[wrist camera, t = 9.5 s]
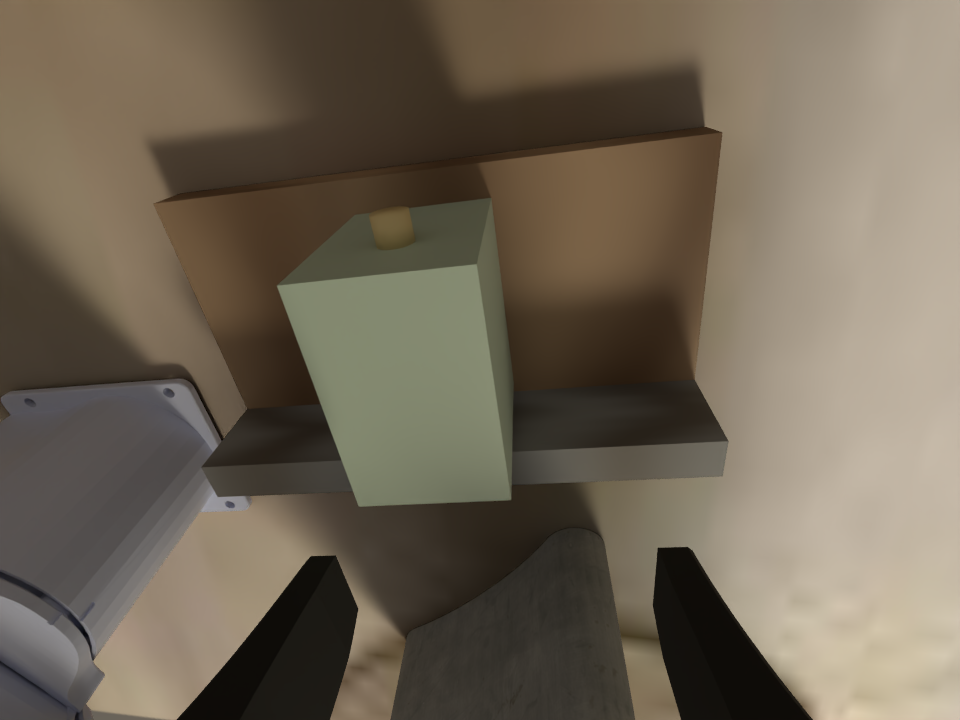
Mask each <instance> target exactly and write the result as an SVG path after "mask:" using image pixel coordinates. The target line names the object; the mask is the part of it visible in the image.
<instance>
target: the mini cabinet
mask: <svg viewBox="0 0 960 720" xmlns="http://www.w3.org/2000/svg"><path fill="white" fill-rule="evenodd" d="M277 287H278V290H279V293H280V296H281V298H282V301H283V304H284V306H285V309H286V312H287V314H288V317H289V320H290V323H291V325H292V328H293V331H294V333H295V336H296V339H297V341H298V344H299V347H300V349H301V352H302V355H303V358H304V360H305V363H306V366H307V368H308V371H309V374H310V376H311V379H312V382H313V384H314V387H315V390H316V393H317V395H318V398H319V401H320V403H321V406H322V409H323V411H324V414H325V417H326V420H327V422H328V425H329V428H330V430H331V433H332V436H333V438H334V441H335V444H336V446H337V449H338V452H339V455H340V457H341V460H342V463H343V465H344V468H345V471H346V473H347V476H348V479H349V481H350V484H351V487H352V490H353V492H354V495H355V498H356V500H357V503H358V506H359V507H364V506H387V505H410V504H433V503H456V502H479V501H502V500H511V486H512V439H513V392H514V381H513V372H512V364H511V356H510V348H509V340H508V331H507V323H506V315H505V307H504V299H503V290H502V282H501V274H500V266H499V257H498V249H497V241H496V233H495V225H494V216H493V208H492V200H491V198H486V199H478V200H470V201H462V202H454V203H446V204H438V205H430V206H422V207H414V208H408V207H405V206H397V207H389V208H384V209H380V210H377V211H374V212H372V213H366V214H358V215H354V216H353V217H352V218H351V219H350V220H349V221H347V222H346V223H345V224H344V225H343V226H342V227H341V228H340V229H339V230H338V231H336V232H335V233H334V234H333V235H332V236H331V237H330V238H329V239H328V240H327V241H325V242H324V243H323V244H322V245H321V246H320V247H319V248H318V249H317V250H316V251H314V252H313V253H312V254H311V255H310V256H309V257H308V258H307V259H306V260H305V261H303V262H302V263H301V264H300V265H299V266H298V267H297V268H296V269H295V270H294V271H292V272H291V273H290V274H289V275H288V276H287V277H286V278H285V279H284V280H282V281H281V282H280V283H279V284H278V285H277Z"/></svg>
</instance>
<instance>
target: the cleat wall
mask: <svg viewBox="0 0 960 720" xmlns="http://www.w3.org/2000/svg"><path fill="white" fill-rule="evenodd" d="M721 140H722V132H719V131H716V130H714V129H711V128H708V127H700V128H692V129H684V130H676V131H668V132H661V133H653V134H645V135H637V136H629V137H621V138H613V139H606V140H598V141H590V142H582V143H574V144H566V145H558V146H551V147H543V148H535V149H527V150H519V151H511V152H503V153H496V154H488V155H480V156H472V157H464V158H456V159H448V160H441V161H433V162H425V163H417V164H409V165H401V166H394V167H386V168H378V169H370V170H362V171H354V172H346V173H339V174H331V175H323V176H315V177H307V178H299V179H291V180H284V181H276V182H268V183H260V184H252V185H244V186H236V187H229V188H221V189H213V190H205V191H197V192H189V193H181V194H178V195H175V196H173V197H170V198H168V199H165V200H162V201H160V202H157V203H154V206H155V208H156V210H157V212H158V215H159V217H160V219H161V221H162V223H163V226H164V228H165V230H166V232H167V234H168V237H169V239H170V241H171V243H172V245H173V247H174V250H175V252H176V254H177V256H178V258H179V261H180V263H181V265H182V267H183V269H184V271H185V274H186V276H187V278H188V280H189V282H190V285H191V287H192V289H193V291H194V293H195V295H196V298H197V300H198V302H199V304H200V306H201V309H202V311H203V313H204V315H205V317H206V320H207V322H208V324H209V326H210V328H211V330H212V333H213V335H214V337H215V339H216V341H217V344H218V346H219V348H220V350H221V352H222V354H223V357H224V359H225V361H226V363H227V365H228V368H229V370H230V372H231V374H232V376H233V379H234V381H235V383H236V385H237V387H238V389H239V392H240V394H241V396H242V398H243V400H244V403H245V405H246V407H247V410H246V411H245V413H244V414H243V415H242V416H241V418H240V419H239V420H238V421H237V423H236V424H235V425H234V426H233V428H232V429H231V430H230V432H229V433H228V434H227V435H226V437H225V438H224V439H223V440H222V442H221V443H220V444H219V445H218V447H217V448H216V449H215V450H214V452H213V453H212V454H211V456H210V457H209V458H208V459H207V461H206V462H205V463H204V464H203V466H202V467H201V468H202V470H203V472H204V474H205V475H206V477H207V479H208V481H209V483H210V484H211V486H212V488H213V490H214V492H215V493H216V495H217V497H234V496H258V495H282V494H307V493H331V492H353V490H352V487H351V484H350V481H349V479H348V476H347V473H346V471H345V468H344V465H343V463H342V460H341V457H340V455H339V452H338V449H337V446H336V444H335V441H334V438H333V436H332V433H331V430H330V428H329V425H328V422H327V420H326V417H325V414H324V411H323V409H322V406H321V403H320V401H319V398H318V395H317V393H316V390H315V387H314V384H313V382H312V379H311V376H310V374H309V371H308V368H307V366H306V363H305V360H304V358H303V355H302V352H301V349H300V347H299V344H298V341H297V339H296V336H295V333H294V331H293V328H292V325H291V323H290V320H289V317H288V314H287V312H286V309H285V306H284V304H283V301H282V298H281V296H280V293H279V290H278V287H277V285H278V284H279V283H280V282H281V281H282V280H284V279H285V278H286V277H287V276H288V275H289V274H290V273H291V272H292V271H294V270H295V269H296V268H297V267H298V266H299V265H300V264H301V263H302V262H303V261H305V260H306V259H307V258H308V257H309V256H310V255H311V254H312V253H313V252H314V251H316V250H317V249H318V248H319V247H320V246H321V245H322V244H323V243H324V242H325V241H327V240H328V239H329V238H330V237H331V236H332V235H333V234H334V233H335V232H336V231H338V230H339V229H340V228H341V227H342V226H343V225H344V224H345V223H346V222H347V221H349V220H350V219H351V218H352V217H353V216H354V215H358V214H366V213H372V212H374V211H377V210H380V209H384V208H389V207H397V206H405V207H408V208H414V207H422V206H430V205H438V204H446V203H454V202H462V201H470V200H478V199H486V198H491V200H492V208H493V216H494V225H495V233H496V241H497V249H498V257H499V266H500V274H501V282H502V290H503V299H504V307H505V315H506V323H507V331H508V340H509V348H510V356H511V364H512V372H513V381H514V392H513V439H512V485H525V484H549V483H573V482H598V481H622V480H646V479H670V478H695V477H719V476H723V471H724V465H725V459H726V453H727V447H728V439H727V438H726V436H725V434H724V432H723V430H722V429H721V427H720V425H719V423H718V421H717V420H716V418H715V416H714V414H713V412H712V410H711V409H710V407H709V405H708V403H707V401H706V400H705V398H704V396H703V394H702V392H701V391H700V389H699V387H698V385H697V383H696V382H695V371H696V362H697V353H698V344H699V335H700V326H701V318H702V309H703V300H704V291H705V282H706V273H707V264H708V255H709V246H710V238H711V229H712V220H713V211H714V202H715V193H716V184H717V175H718V167H719V158H720V149H721Z"/></svg>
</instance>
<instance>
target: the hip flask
mask: <svg viewBox="0 0 960 720" xmlns="http://www.w3.org/2000/svg"><path fill="white" fill-rule="evenodd" d="M391 720H635V716H634V710H633V704H632V699H631V693H630V687H629V681H628V676H627V670H626V664H625V659H624V653H623V647H622V641H621V636H620V630H619V624H618V619H617V613H616V607H615V602H614V596H613V590H612V584H611V579H610V573H609V567H608V562H607V556H606V550H605V544H604V542H603V540H602V539H601V537H600V536H598V535H597V534H596V533H594V532H592V531H590V530H587V529H582V528H567V529H563V530H560V531H557V532H555V533H554V534H552V535H551V536H550V537H549V538H548V539H547V540H546V541H545V542H544V543H543V544H542V545H541V546H540V547H539V548H538V549H537V550H536V551H535V552H534V553H533V554H532V555H531V556H530V557H529V558H528V559H527V560H525V561H524V562H523V563H522V564H521V565H520V566H518V567H517V568H516V569H515V570H514V571H512V572H511V573H510V574H509V575H507V576H506V577H505V578H503V579H502V580H501V581H499V582H498V583H497V584H495V585H494V586H492V587H491V588H489V589H488V590H486V591H485V592H483V593H482V594H480V595H479V596H477V597H476V598H474V599H473V600H471V601H469V602H468V603H466V604H465V605H463V606H461V607H459V608H458V609H456V610H454V611H452V612H450V613H448V614H446V615H444V616H442V617H440V618H438V619H436V620H434V621H432V622H430V623H427V624H425V625H422V626H420V627H418V628H415V629H413V630H411V631H410V632H409V633H408V635H407V639H406V644H405V649H404V654H403V659H402V664H401V669H400V675H399V680H398V685H397V690H396V695H395V700H394V705H393V710H392V715H391Z"/></svg>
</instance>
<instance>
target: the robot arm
mask: <svg viewBox="0 0 960 720" xmlns="http://www.w3.org/2000/svg"><path fill="white" fill-rule="evenodd" d="M170 389H171V390H172V391H173V392H172V391H171V390H170ZM1 402H2V404H3V406H4V407H5V408H6V410H7V411H8V412H9V414H10V416H8V417H7V418H6V419H4V420H3V421H1V422H0V720H94V719H93V716H92V712H91V710H90V709H89V707H88V706H87V705H86V703H87V702H88V700H89V699H90V697H91V696H92V694H93V693H94V691H95V690H96V688H97V687H98V685H99V684H100V682H101V681H102V680H103V678H104V677H105V674H104V673H103V672H102V671H101V670H100V669H99V668H98V667H97V666H96V665H95V664H94V662H93V660H94V659H95V658H96V656H97V655H98V653H99V652H100V651H101V649H102V648H103V646H104V645H105V644H106V642H107V641H108V639H109V638H110V637H111V635H112V634H113V632H114V631H115V630H116V628H117V627H118V625H119V624H120V623H121V621H122V620H123V618H124V617H125V616H126V614H127V613H128V611H129V610H130V609H131V607H132V606H133V605H134V603H135V602H136V600H137V599H138V598H139V596H140V595H141V593H142V592H143V591H144V589H145V588H146V586H147V585H148V584H149V582H150V581H151V579H152V578H153V577H154V575H155V574H156V572H157V571H158V570H159V568H160V567H161V565H162V564H163V563H164V561H165V560H166V558H167V557H168V556H169V554H170V553H171V551H172V550H173V549H174V547H175V546H176V544H177V543H178V542H179V540H180V539H181V538H182V536H183V535H184V533H185V532H186V531H187V529H188V528H189V526H190V525H191V524H192V522H193V521H194V519H195V518H196V517H197V515H198V514H199V512H217V511H243V510H247V509H248V508H249V506H250V505H251V503H252V500H251V497H250V496H234V497H217V495H216V493H215V492H214V490H213V488H212V486H211V484H210V483H209V481H208V479H207V477H206V475H205V474H204V472H203V470H202V468H201V467H202V466H203V464H204V463H205V462H206V461H207V459H208V458H209V457H210V456H211V454H212V453H213V452H214V450H215V449H216V448H217V447H218V445H219V444H220V443H221V442H222V441H221V439H220V437H219V435H218V433H217V431H216V429H215V427H214V425H213V423H212V421H211V419H210V417H209V415H208V413H207V412H206V410H205V408H204V406H203V404H202V402H201V400H200V398H199V396H198V394H197V392H196V390H195V388H194V386H193V385H192V384H191V383H190V382H189V381H187V380H185V379H166V380H152V381H139V382H126V383H112V384H99V385H86V386H72V387H59V388H46V389H33V390H19V391H10V392H8V393H6V394H4V395H3V396H2V397H1ZM653 609H654V614H655V619H656V625H657V630H658V635H659V640H660V645H661V650H662V655H663V659H664V663H665V666H666V669H667V673H668V676H669V680H670V683H671V687H672V690H673V693H674V697H675V700H676V703H677V707H678V710H679V714H680V717H681V720H813V719H812V718H811V717H810V716H809V715H808V713H807V712H806V711H805V710H804V708H803V707H802V706H801V705H800V703H799V702H798V701H797V700H796V698H795V697H794V696H793V695H792V693H791V692H790V691H789V690H788V688H787V687H786V686H785V685H784V683H783V682H782V681H781V679H780V678H779V677H778V675H777V674H776V673H775V672H774V670H773V669H772V668H771V666H770V665H769V664H768V662H767V661H766V660H765V658H764V657H763V655H762V654H761V653H760V651H759V650H758V649H757V647H756V646H755V645H754V643H753V642H752V640H751V639H750V638H749V636H748V635H747V634H746V632H745V631H744V630H743V628H742V627H741V625H740V624H739V622H738V621H737V620H736V618H735V617H734V615H733V614H732V612H731V611H730V609H729V608H728V606H727V605H726V603H725V602H724V600H723V599H722V597H721V596H720V594H719V593H718V591H717V590H716V588H715V587H714V585H713V584H712V582H711V581H710V579H709V577H708V576H707V574H706V573H705V571H704V569H703V568H702V566H701V564H700V563H699V561H698V559H697V558H696V556H695V554H694V552H693V551H692V550H691V549H690V548H688V547H673V548H658V552H657V564H656V576H655V587H654V599H653ZM357 613H358V607H357V605H356V602H355V600H354V598H353V595H352V593H351V590H350V588H349V586H348V583H347V581H346V579H345V576H344V574H343V572H342V569H341V567H340V565H339V562H338V560H337V557H336V556H311V557H310V558H309V559H308V560H307V561H306V563H305V564H304V565H303V566H302V568H301V569H300V570H299V572H298V573H297V574H296V576H295V577H294V578H293V579H292V581H291V582H290V583H289V585H288V586H287V587H286V589H285V590H284V591H283V593H282V594H281V595H280V596H279V598H278V599H277V600H276V602H275V603H274V604H273V606H272V607H271V608H270V609H269V611H268V612H267V613H266V615H265V616H264V617H263V618H262V620H261V621H260V622H259V623H258V625H257V626H256V627H255V628H254V630H253V631H252V632H251V633H250V635H249V636H248V637H247V638H246V640H245V641H244V642H243V643H242V645H241V646H240V647H239V648H238V650H237V651H236V652H235V653H234V655H233V656H232V657H231V658H230V659H229V661H228V662H227V663H226V664H225V665H224V666H223V668H222V669H221V670H220V671H219V672H218V673H217V675H216V676H215V677H214V678H213V679H212V680H211V682H210V683H209V684H208V685H207V686H206V687H205V688H204V690H203V691H202V692H201V693H200V694H199V695H198V697H197V698H196V699H195V700H194V701H193V702H192V703H191V704H190V706H189V707H188V708H187V709H186V710H185V711H184V712H183V713H182V714H181V715H180V717H179V718H178V719H177V720H330V717H331V714H332V711H333V708H334V705H335V701H336V698H337V695H338V692H339V688H340V685H341V682H342V678H343V675H344V672H345V669H346V665H347V662H348V658H349V654H350V649H351V645H352V640H353V635H354V629H355V624H356V618H357Z"/></svg>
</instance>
